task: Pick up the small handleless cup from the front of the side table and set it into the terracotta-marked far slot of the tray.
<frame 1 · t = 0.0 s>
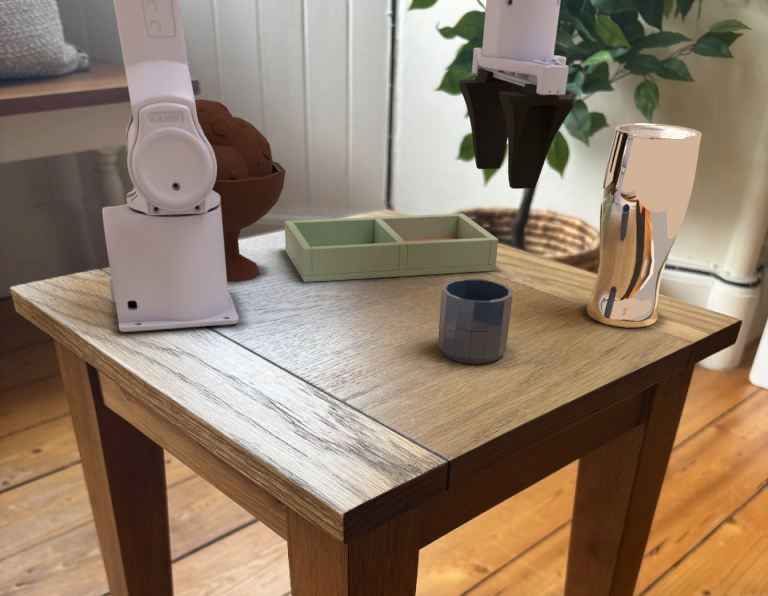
hand: (504, 177, 70), 10 cm above the table, tool pointing down, fingers open, 7 cm apart
beer glass: (620, 317, 72), on the table
ice cream bowl: (231, 274, 78), on the table
handleless cup: (471, 352, 64), on the table
tray: (388, 260, 83), on the table
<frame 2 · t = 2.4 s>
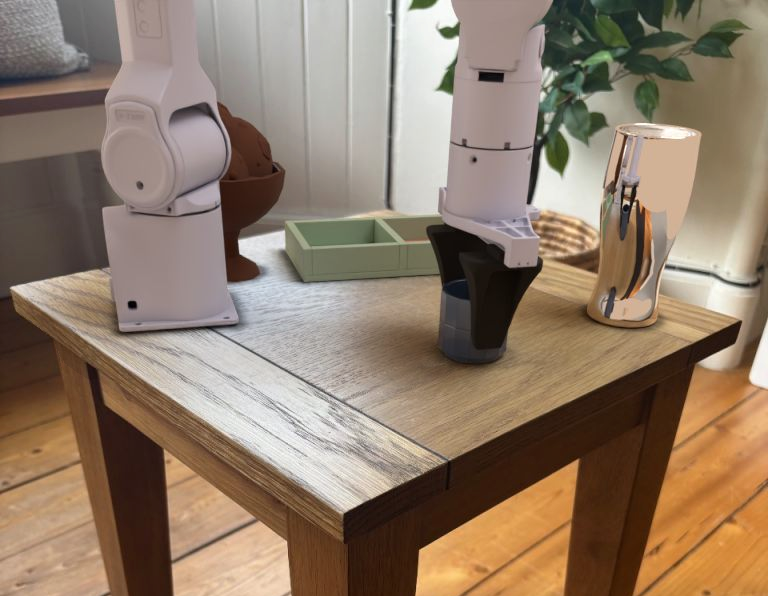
hand: (473, 332, 63), 2 cm above the table, tool pointing down, fingers closed on handleless cup, 5 cm apart
handleless cup: (471, 351, 64), on the table, touching gripper
everything else where it was.
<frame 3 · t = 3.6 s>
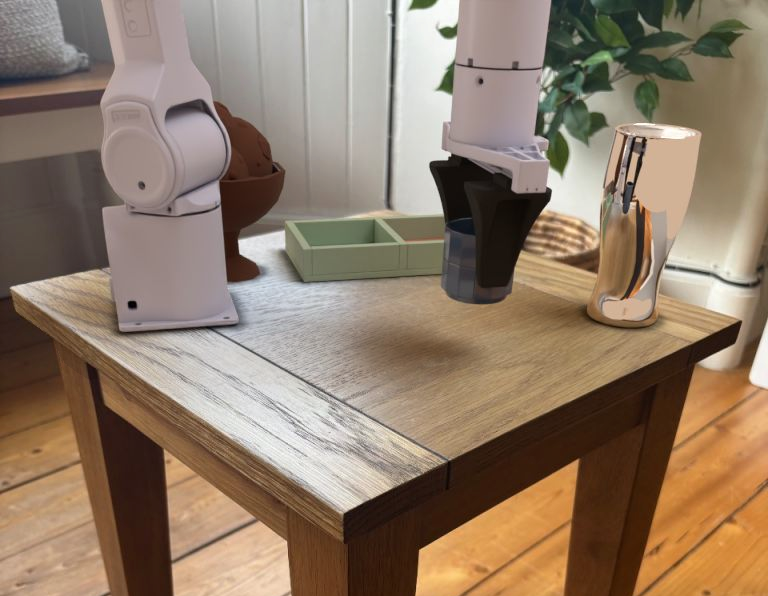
hand: (478, 273, 61), 6 cm above the table, tool pointing down, fingers closed on handleless cup, 5 cm apart
handleless cup: (475, 294, 61), point 5 cm above the table, touching gripper
everything else where it was.
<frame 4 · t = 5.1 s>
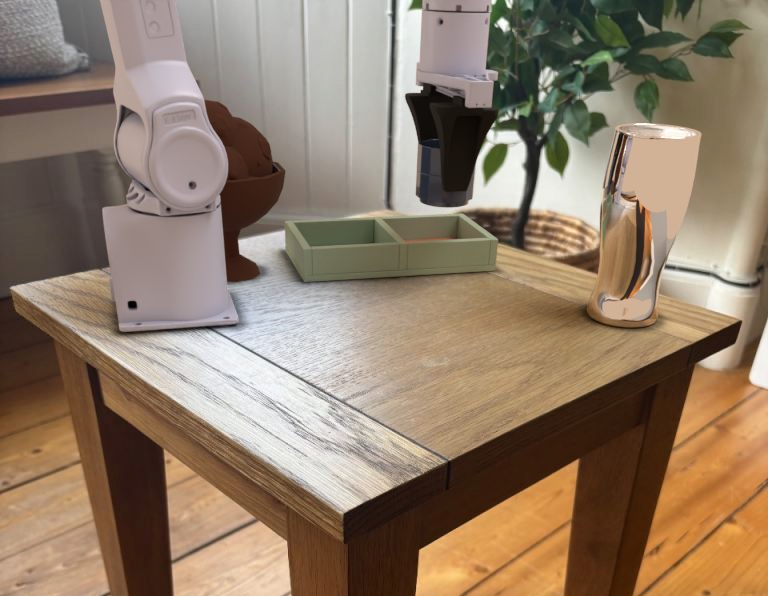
hand: (444, 183, 75), 8 cm above the table, tool pointing down, fingers closed on handleless cup, 5 cm apart
handleless cup: (444, 201, 76), point 7 cm above the table, touching gripper
everything else where it was.
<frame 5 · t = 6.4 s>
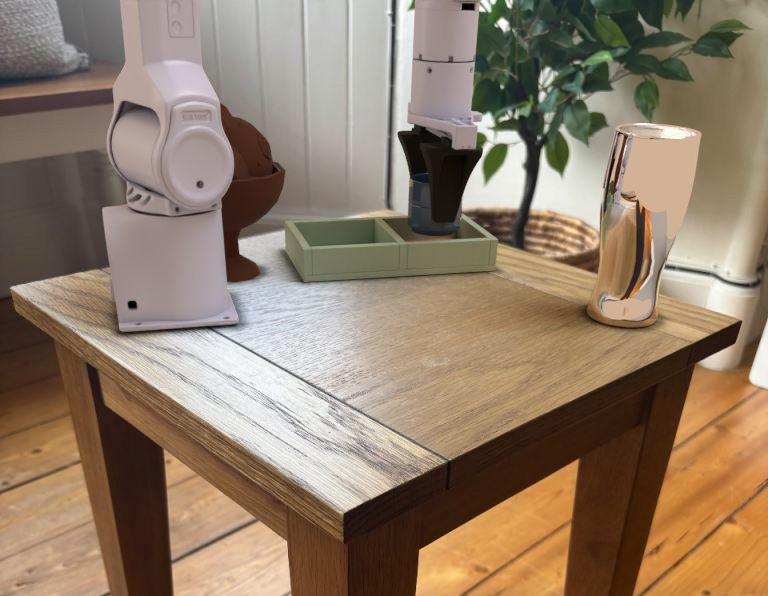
hand: (434, 214, 82), 4 cm above the table, tool pointing down, fingers closed on handleless cup, 5 cm apart
handleless cup: (433, 230, 83), point 3 cm above the table, touching gripper
everything else where it was.
when the fingers open (3 cm above the table, at t = 7.9 s): handleless cup stays where it is, resting on tray.
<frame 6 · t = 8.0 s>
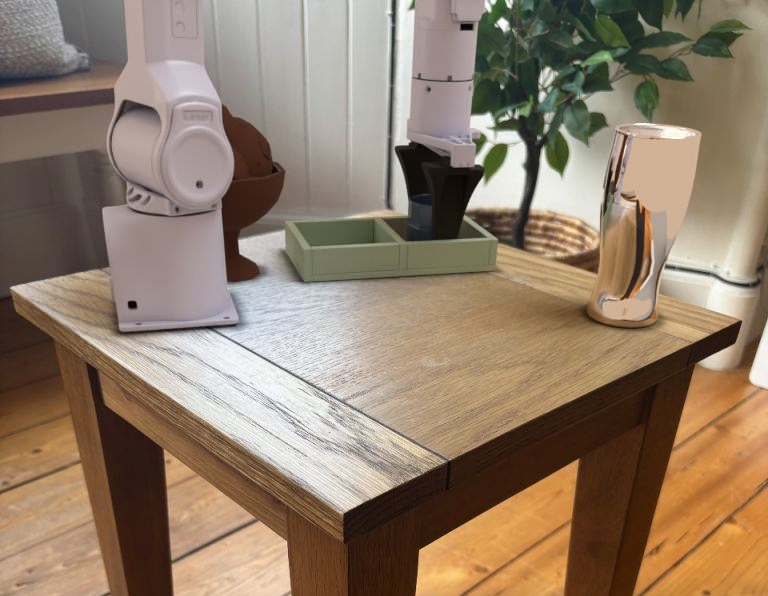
hand: (433, 229, 82), 3 cm above the table, tool pointing down, fingers open, 7 cm apart
handleless cup: (432, 250, 84), point 1 cm above the table, touching tray
everything else where it was.
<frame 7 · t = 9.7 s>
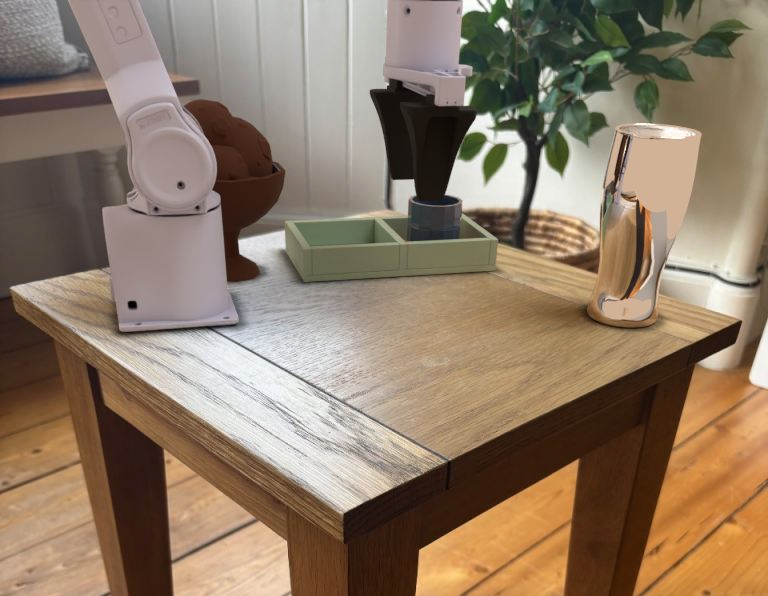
hand: (415, 189, 69), 9 cm above the table, tool pointing down, fingers open, 7 cm apart
nothing on the table moved.
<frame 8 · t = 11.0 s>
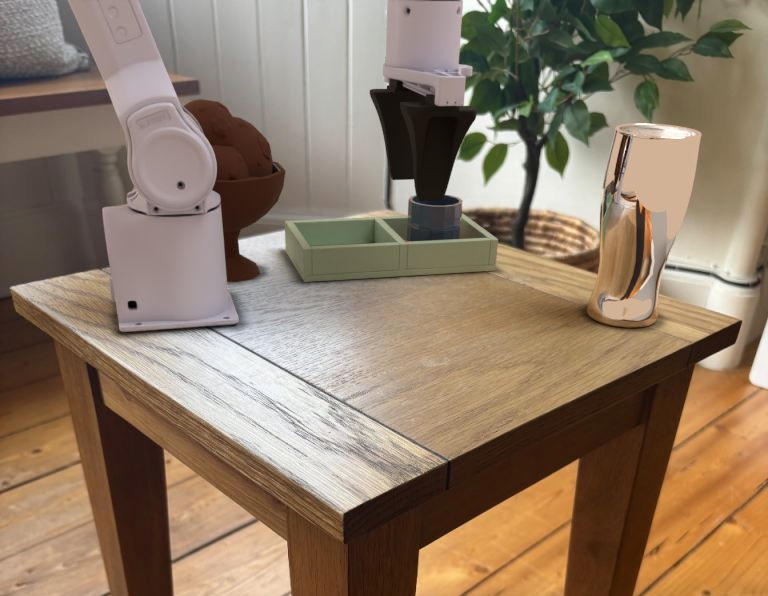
hand: (416, 189, 69), 9 cm above the table, tool pointing down, fingers open, 7 cm apart
nothing on the table moved.
at the end: handleless cup 0.0 cm from the target spot in the tray, point 0.8 cm above the tray's base; handleless cup tilted 0°; the gripper is holding nothing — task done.
